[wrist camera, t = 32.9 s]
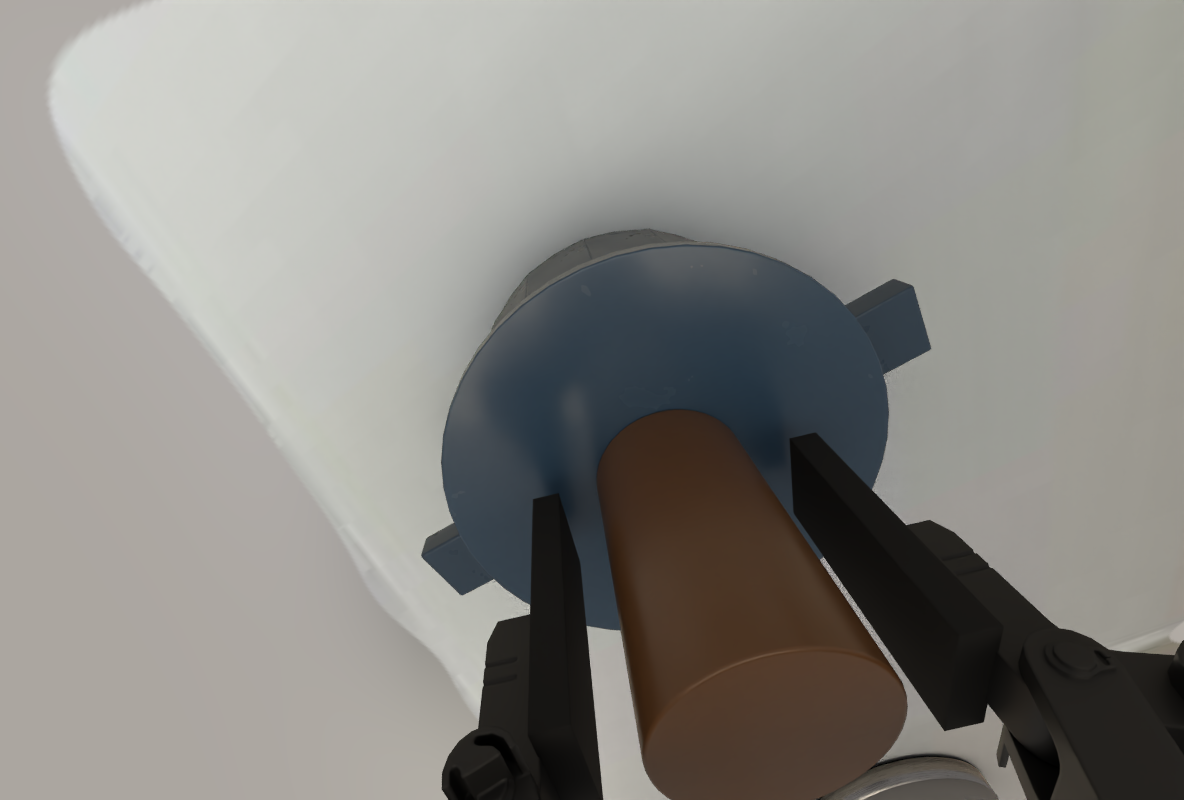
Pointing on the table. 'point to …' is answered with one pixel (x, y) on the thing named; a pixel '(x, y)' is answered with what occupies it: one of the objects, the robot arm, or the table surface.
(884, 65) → the table surface
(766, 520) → the tin lid
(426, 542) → the tin
